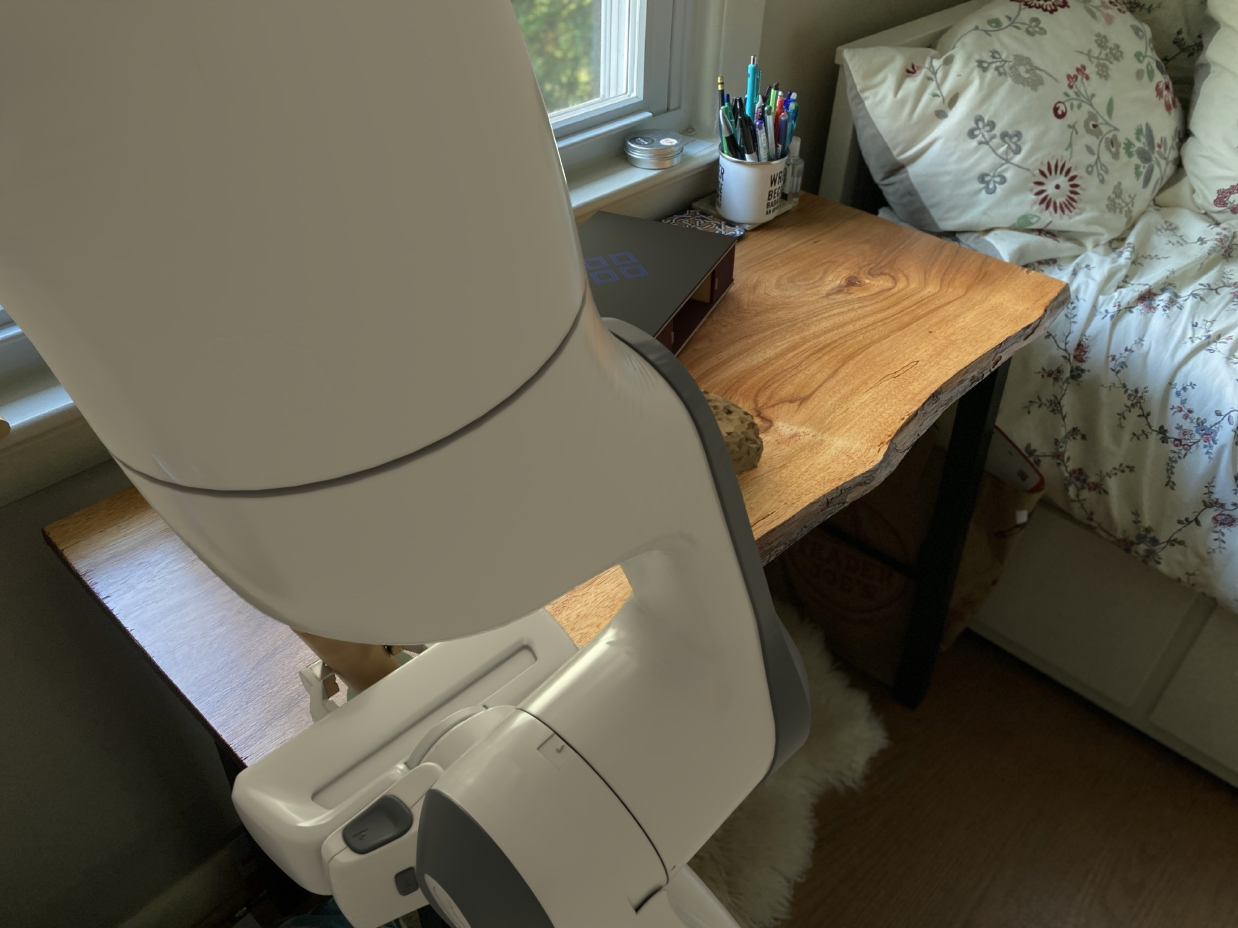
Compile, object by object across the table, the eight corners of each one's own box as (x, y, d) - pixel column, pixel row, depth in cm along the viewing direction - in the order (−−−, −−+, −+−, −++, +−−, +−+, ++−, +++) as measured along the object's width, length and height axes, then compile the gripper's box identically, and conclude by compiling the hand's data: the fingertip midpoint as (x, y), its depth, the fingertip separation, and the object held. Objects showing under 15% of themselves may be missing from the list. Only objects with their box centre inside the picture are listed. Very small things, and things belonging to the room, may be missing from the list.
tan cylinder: (394, 756, 59) (299, 663, 50) (353, 712, 62) (257, 618, 53) (452, 698, 61) (370, 598, 52) (409, 658, 64) (325, 558, 55)
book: (733, 290, 108) (738, 236, 104) (646, 402, 90) (647, 343, 86) (599, 261, 114) (598, 210, 109) (492, 361, 96) (486, 304, 92)
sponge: (523, 448, 86) (674, 518, 73) (520, 367, 83) (676, 424, 70) (629, 416, 94) (783, 474, 81) (629, 341, 91) (789, 388, 78)
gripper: (626, 646, 53) (478, 529, 61) (303, 892, 42) (173, 711, 50) (626, 714, 57) (487, 596, 65) (331, 955, 46) (206, 778, 54)
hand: (348, 648), depth 57 cm, fingers closed on tan cylinder, 4 cm apart
